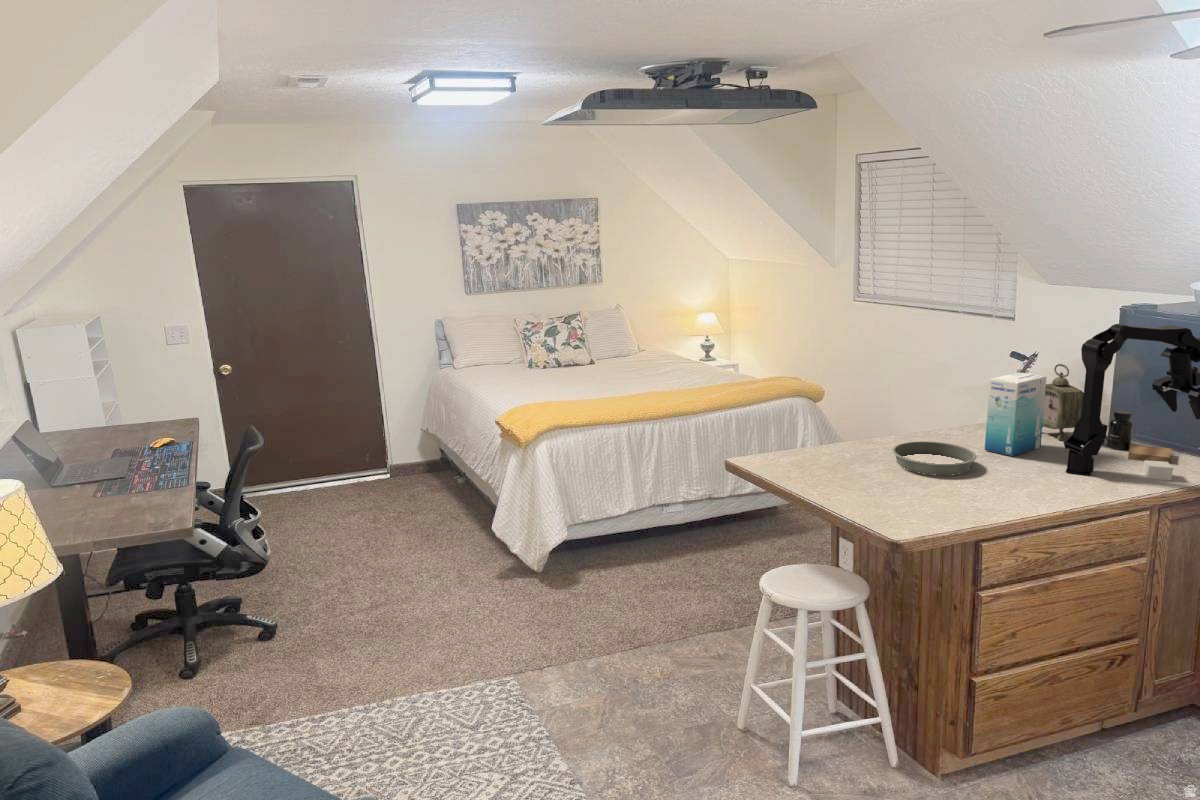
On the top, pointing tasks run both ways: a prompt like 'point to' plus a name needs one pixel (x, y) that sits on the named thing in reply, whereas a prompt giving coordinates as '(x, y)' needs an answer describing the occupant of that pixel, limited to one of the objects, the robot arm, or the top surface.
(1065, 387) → the tabletop clock
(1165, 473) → the grey block
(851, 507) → the top surface
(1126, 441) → the supplement bottle
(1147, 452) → the tan slab
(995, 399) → the toothbrush box
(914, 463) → the cake pan
